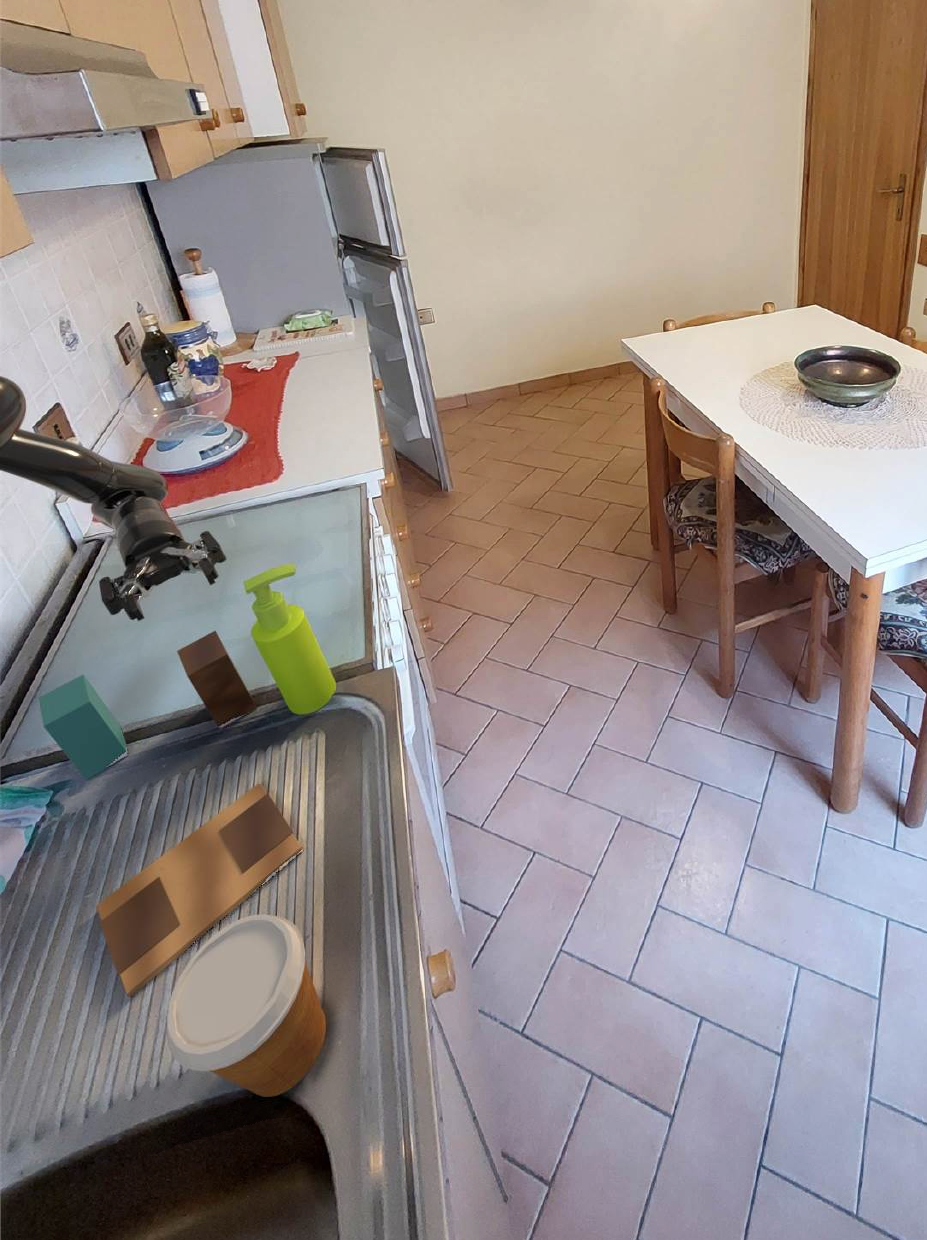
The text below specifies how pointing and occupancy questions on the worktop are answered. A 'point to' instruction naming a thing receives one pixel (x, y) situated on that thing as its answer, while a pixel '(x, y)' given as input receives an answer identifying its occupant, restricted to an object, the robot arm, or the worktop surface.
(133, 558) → the robot arm
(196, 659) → the brown wooden block
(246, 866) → the word board
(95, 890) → the worktop surface
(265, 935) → the disposable coffee cup
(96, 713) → the tall teal prism
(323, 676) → the soap dispenser
